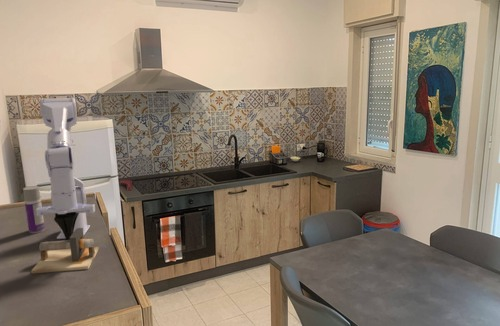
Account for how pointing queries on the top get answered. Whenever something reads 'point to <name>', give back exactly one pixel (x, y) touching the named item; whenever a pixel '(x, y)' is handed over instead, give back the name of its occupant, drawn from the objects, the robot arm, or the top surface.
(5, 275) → the top surface
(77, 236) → the collar
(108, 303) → the top surface
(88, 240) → the pipe stand
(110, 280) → the top surface
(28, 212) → the container
